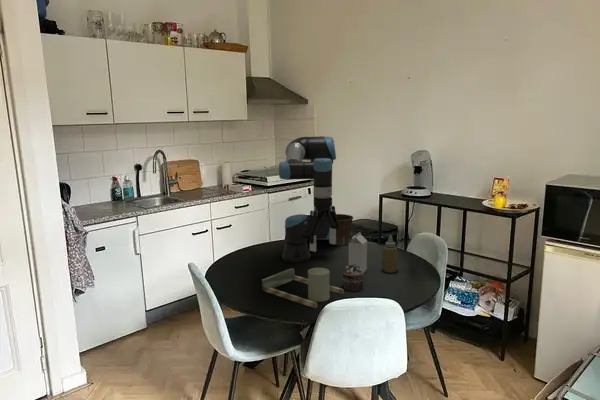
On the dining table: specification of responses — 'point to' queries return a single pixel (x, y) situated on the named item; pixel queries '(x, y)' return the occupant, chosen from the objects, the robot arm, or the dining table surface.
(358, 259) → the milk carton
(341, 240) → the plant pot
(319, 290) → the can
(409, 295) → the dining table surface
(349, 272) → the cupcake
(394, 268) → the squeeze bottle
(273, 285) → the guide track
